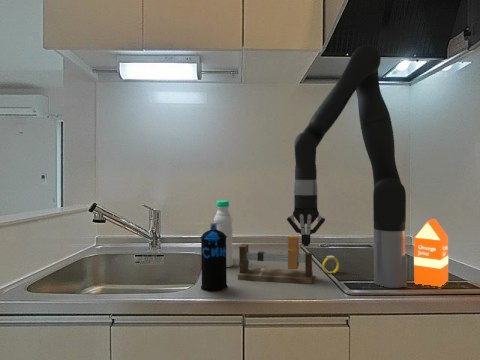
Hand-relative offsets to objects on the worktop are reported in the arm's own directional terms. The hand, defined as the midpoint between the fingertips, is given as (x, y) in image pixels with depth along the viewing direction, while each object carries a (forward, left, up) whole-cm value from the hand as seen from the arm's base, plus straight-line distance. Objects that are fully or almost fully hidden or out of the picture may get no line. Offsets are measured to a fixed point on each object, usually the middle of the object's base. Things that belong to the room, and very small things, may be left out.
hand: (305, 245), depth 124 cm
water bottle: (+32, -12, -11) cm, 36 cm away
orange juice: (-39, -4, -11) cm, 41 cm away
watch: (-8, -10, -11) cm, 17 cm away
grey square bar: (+10, 0, -5) cm, 12 cm away
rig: (+10, 0, -11) cm, 15 cm away
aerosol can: (+27, +15, -11) cm, 33 cm away
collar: (+4, 0, -7) cm, 8 cm away
